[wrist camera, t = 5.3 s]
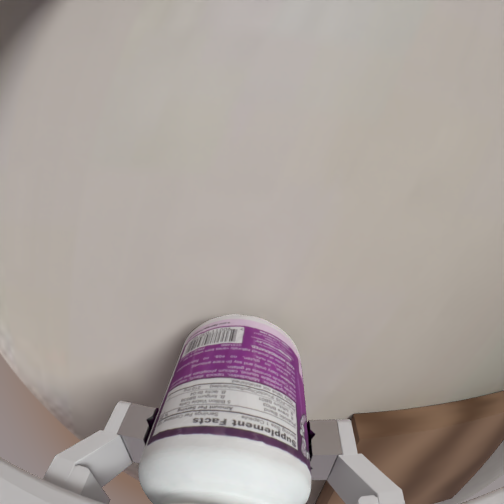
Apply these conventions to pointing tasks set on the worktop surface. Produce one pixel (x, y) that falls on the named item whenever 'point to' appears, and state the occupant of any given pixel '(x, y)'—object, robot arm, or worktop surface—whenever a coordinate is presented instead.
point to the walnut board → (429, 446)
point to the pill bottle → (231, 420)
